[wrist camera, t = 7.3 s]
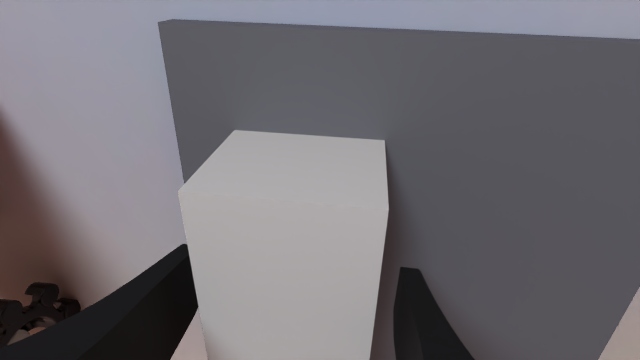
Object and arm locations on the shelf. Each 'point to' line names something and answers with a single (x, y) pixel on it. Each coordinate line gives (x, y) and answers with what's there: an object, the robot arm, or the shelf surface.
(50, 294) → the valve
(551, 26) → the shelf surface
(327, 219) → the block
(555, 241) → the board
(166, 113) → the shelf surface
